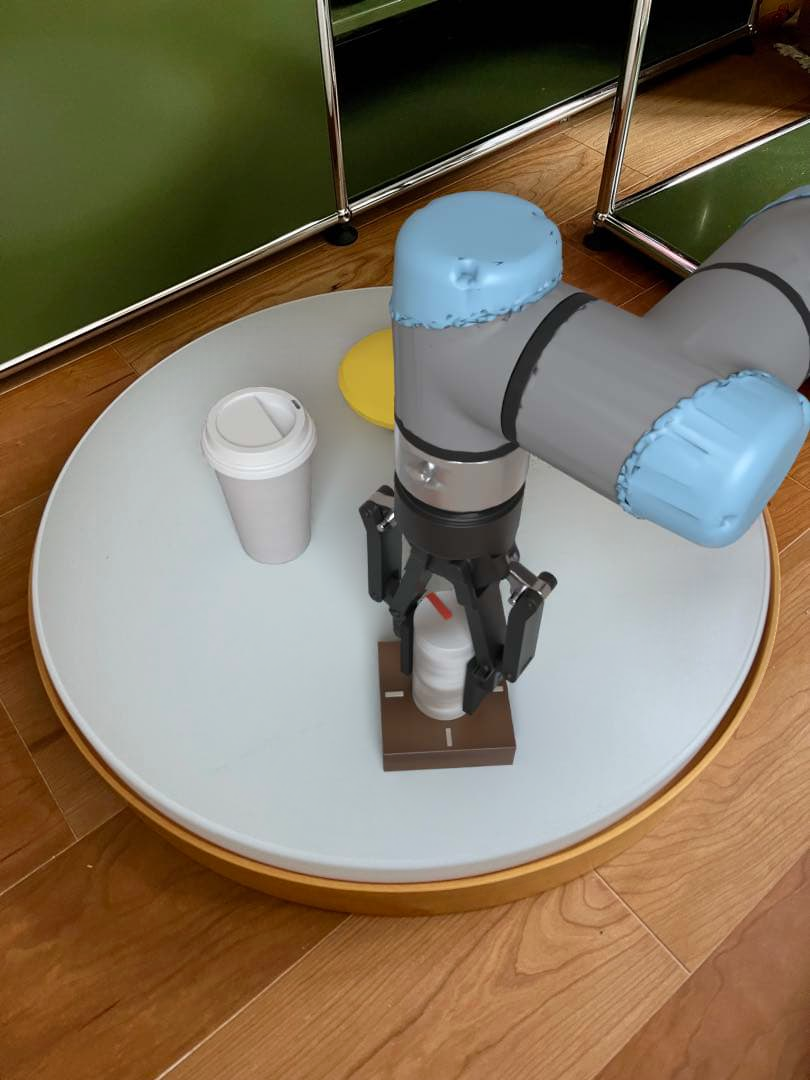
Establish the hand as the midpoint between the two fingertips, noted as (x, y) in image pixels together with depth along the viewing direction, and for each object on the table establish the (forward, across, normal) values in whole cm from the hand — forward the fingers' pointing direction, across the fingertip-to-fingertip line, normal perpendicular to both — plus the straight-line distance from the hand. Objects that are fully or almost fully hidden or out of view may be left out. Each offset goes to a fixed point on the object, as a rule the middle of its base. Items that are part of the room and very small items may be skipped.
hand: (445, 680), depth 69 cm
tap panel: (+5, 0, 0) cm, 5 cm away
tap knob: (+2, 0, 0) cm, 2 cm away
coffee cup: (+5, -23, +6) cm, 24 cm away
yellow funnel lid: (+5, -24, +29) cm, 38 cm away
